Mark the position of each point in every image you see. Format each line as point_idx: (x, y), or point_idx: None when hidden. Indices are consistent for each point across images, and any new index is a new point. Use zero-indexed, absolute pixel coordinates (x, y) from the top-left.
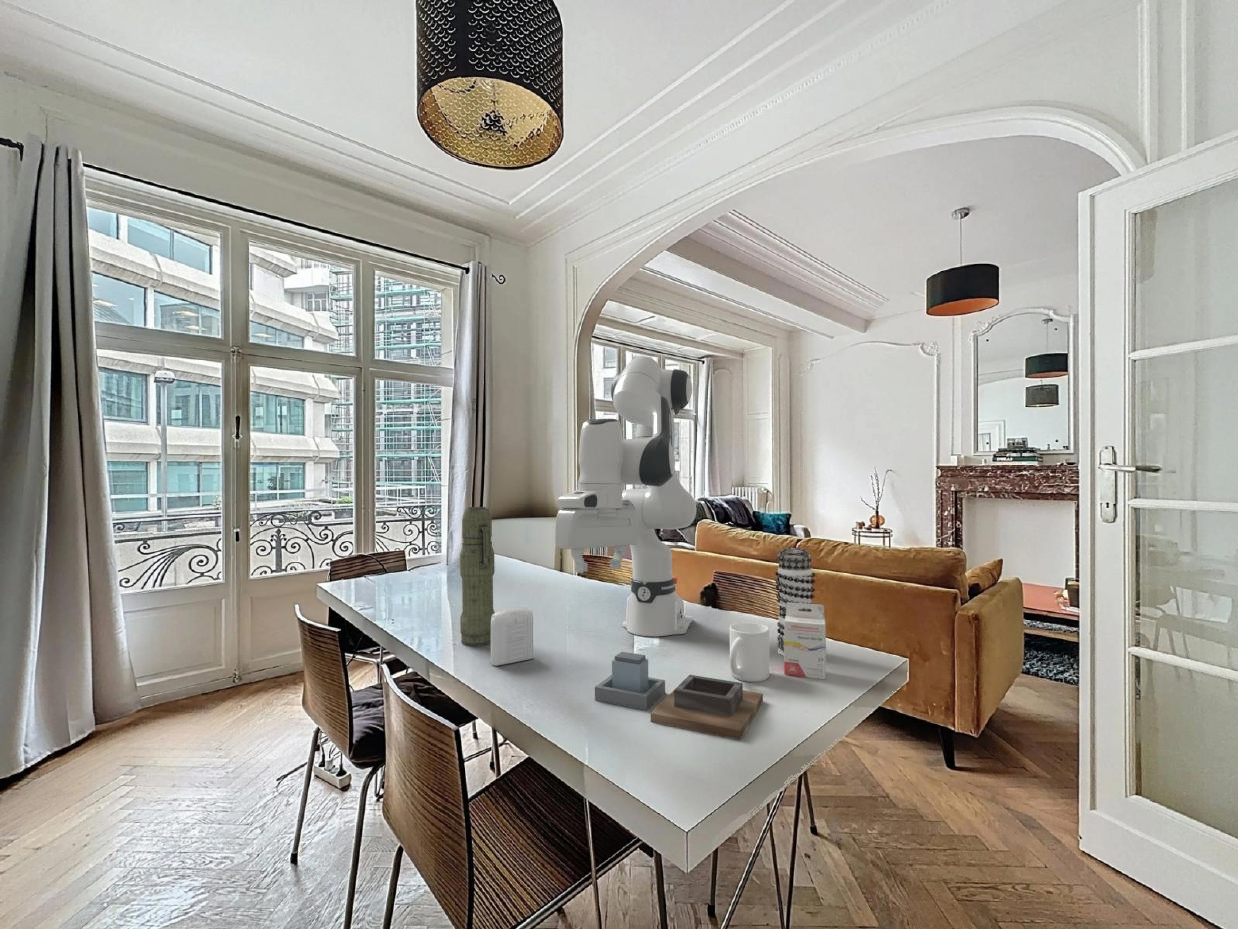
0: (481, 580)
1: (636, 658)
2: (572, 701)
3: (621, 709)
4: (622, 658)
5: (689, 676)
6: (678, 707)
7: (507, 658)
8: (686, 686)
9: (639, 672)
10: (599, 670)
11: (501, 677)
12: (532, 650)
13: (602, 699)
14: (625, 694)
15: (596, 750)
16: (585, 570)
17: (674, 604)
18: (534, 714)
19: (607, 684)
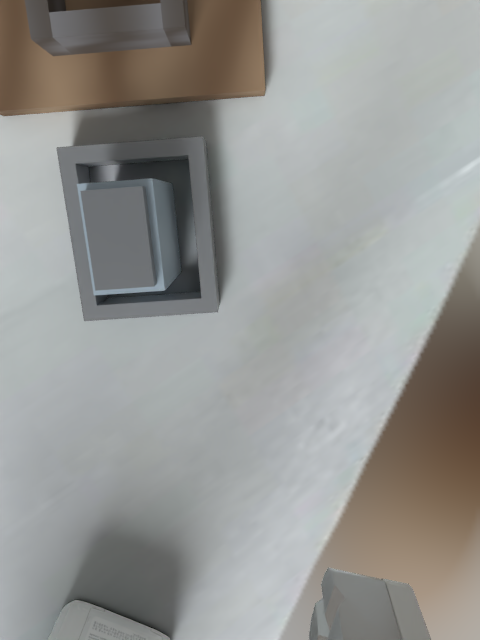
0: None
1: (131, 202)
2: (255, 350)
3: (234, 209)
4: (151, 254)
5: (46, 31)
6: (190, 29)
7: (142, 637)
8: (123, 8)
9: (157, 180)
10: (36, 405)
11: (219, 583)
12: (68, 618)
13: (217, 282)
14: (209, 210)
15: (464, 142)
16: (364, 581)
17: None
18: (363, 385)
19: (167, 299)
